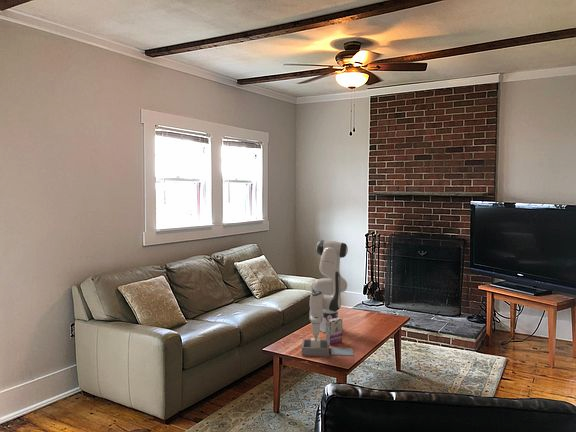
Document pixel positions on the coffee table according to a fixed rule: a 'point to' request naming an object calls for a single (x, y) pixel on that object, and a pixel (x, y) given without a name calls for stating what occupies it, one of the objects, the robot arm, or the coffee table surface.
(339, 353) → the coaster board
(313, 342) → the cream block
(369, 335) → the coffee table surface
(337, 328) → the candy bar box
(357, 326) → the coffee table surface
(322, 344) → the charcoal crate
